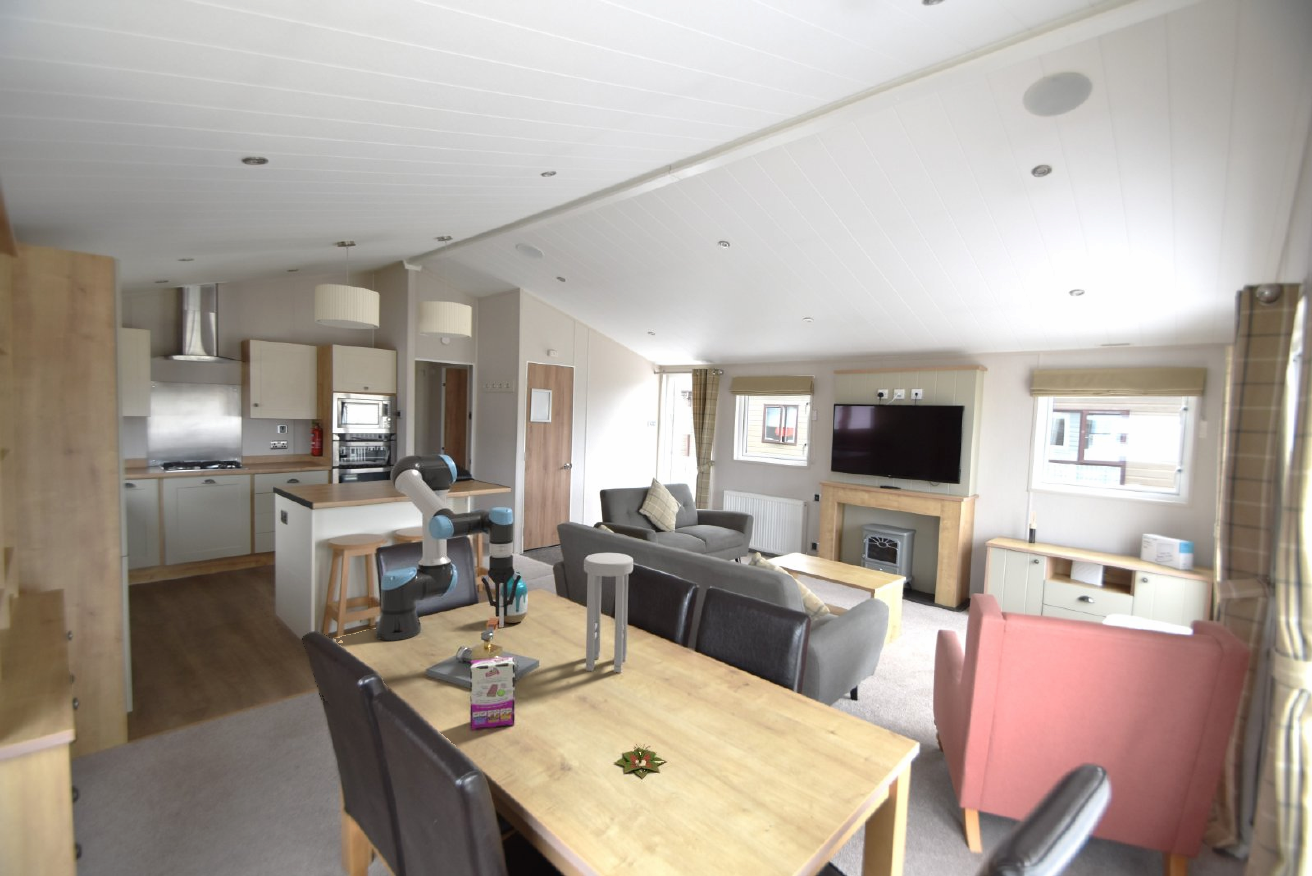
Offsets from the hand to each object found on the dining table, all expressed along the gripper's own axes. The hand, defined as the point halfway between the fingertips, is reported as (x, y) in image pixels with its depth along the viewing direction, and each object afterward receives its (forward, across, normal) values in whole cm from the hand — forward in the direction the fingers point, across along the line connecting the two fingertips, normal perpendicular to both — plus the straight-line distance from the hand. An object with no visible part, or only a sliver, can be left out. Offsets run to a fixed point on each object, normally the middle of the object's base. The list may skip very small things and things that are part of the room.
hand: (501, 625), depth 194 cm
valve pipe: (+9, -5, -11) cm, 15 cm away
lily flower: (+12, +28, -69) cm, 75 cm away
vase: (+11, +6, +34) cm, 36 cm away
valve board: (+11, -6, -8) cm, 15 cm away
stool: (+12, +32, -14) cm, 37 cm away
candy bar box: (+11, -5, -42) cm, 43 cm away
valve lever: (0, -4, -5) cm, 6 cm away
